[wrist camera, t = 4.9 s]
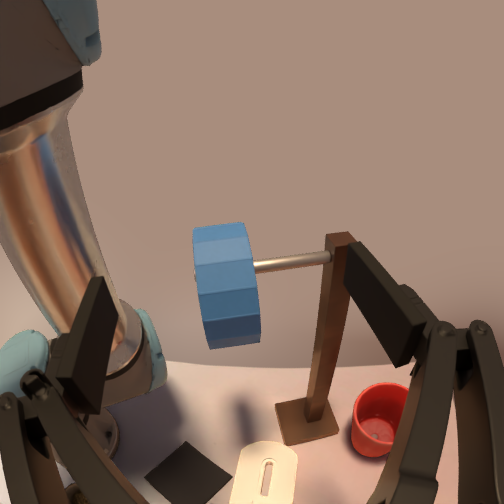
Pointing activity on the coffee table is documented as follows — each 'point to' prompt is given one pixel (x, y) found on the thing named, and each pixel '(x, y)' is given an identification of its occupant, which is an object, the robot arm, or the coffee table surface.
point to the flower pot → (377, 418)
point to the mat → (187, 477)
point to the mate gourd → (75, 495)
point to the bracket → (252, 474)
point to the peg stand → (317, 341)
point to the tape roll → (226, 285)
